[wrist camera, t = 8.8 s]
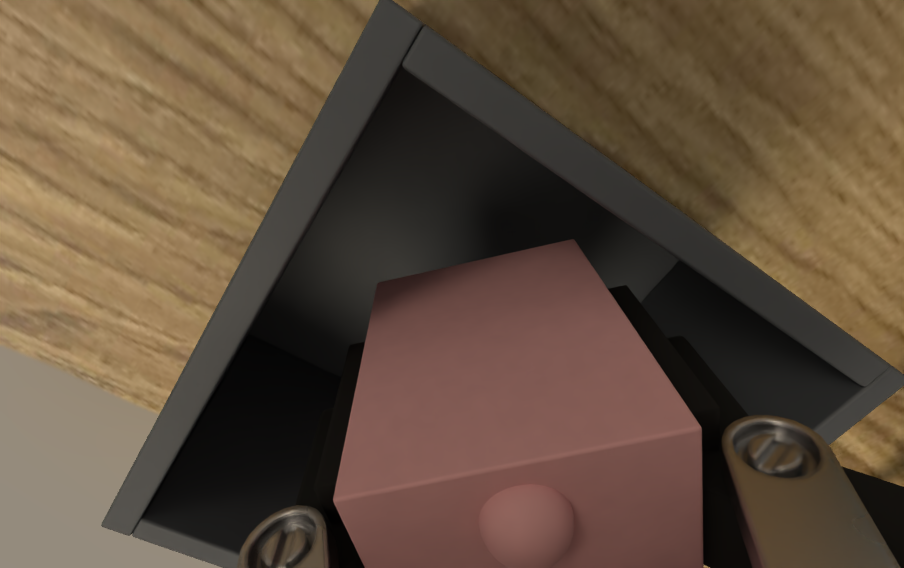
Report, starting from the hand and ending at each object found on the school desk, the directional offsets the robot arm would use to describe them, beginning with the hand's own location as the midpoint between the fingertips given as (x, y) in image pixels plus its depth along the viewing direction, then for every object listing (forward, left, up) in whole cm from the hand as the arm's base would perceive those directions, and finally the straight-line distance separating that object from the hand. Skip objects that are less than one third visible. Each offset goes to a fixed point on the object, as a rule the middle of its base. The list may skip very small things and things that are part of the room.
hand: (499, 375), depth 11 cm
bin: (0, -1, -6) cm, 6 cm away
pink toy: (0, 0, -1) cm, 1 cm away
